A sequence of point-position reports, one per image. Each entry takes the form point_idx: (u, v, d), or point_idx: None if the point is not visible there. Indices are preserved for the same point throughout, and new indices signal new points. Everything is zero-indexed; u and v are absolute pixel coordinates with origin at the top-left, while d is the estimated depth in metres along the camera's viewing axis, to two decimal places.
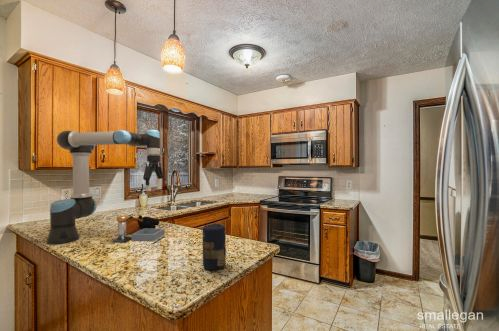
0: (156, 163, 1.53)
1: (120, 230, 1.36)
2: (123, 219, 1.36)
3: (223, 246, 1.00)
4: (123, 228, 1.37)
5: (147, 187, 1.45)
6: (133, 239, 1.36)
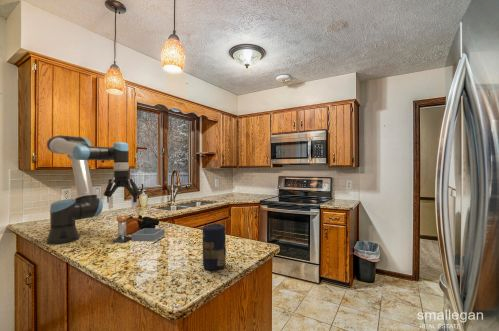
0: (122, 179, 1.37)
1: (120, 230, 1.36)
2: (123, 219, 1.36)
3: (223, 246, 1.00)
4: (123, 228, 1.37)
5: None
6: (133, 239, 1.36)
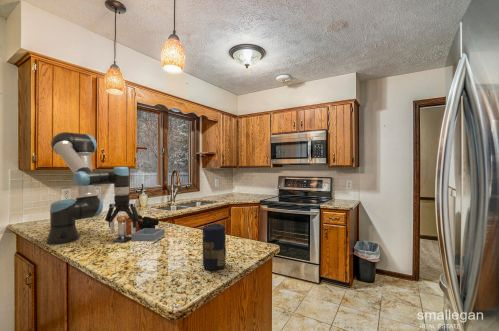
0: (123, 203, 1.37)
1: (120, 230, 1.36)
2: (123, 219, 1.36)
3: (223, 246, 1.00)
4: (123, 228, 1.37)
5: None
6: (133, 239, 1.36)
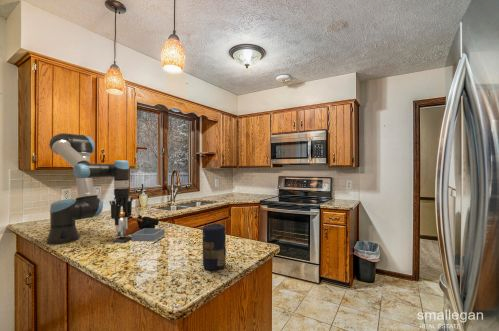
0: (125, 195, 1.40)
1: (121, 225, 1.37)
2: (123, 214, 1.38)
3: (223, 246, 1.00)
4: (123, 223, 1.38)
5: (117, 227, 1.36)
6: (133, 239, 1.36)
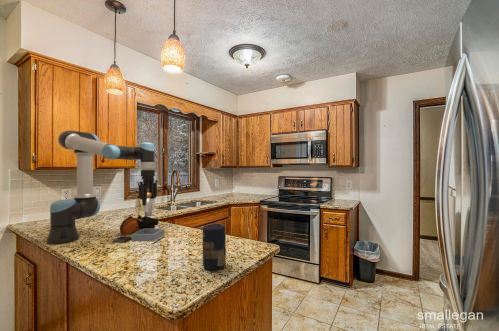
0: (151, 176, 1.44)
1: (148, 205, 1.41)
2: (150, 194, 1.42)
3: (223, 246, 1.00)
4: (150, 203, 1.42)
5: (144, 207, 1.40)
6: (133, 239, 1.36)
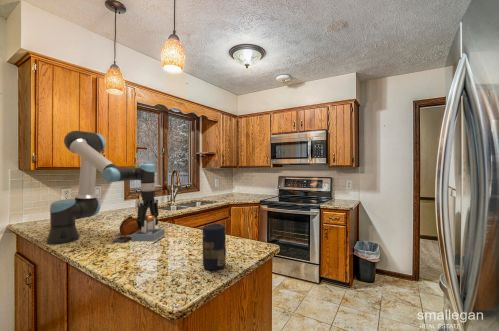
0: (151, 198, 1.44)
1: (150, 228, 1.41)
2: (153, 218, 1.41)
3: (223, 246, 1.00)
4: (152, 227, 1.42)
5: (142, 228, 1.39)
6: (133, 239, 1.36)
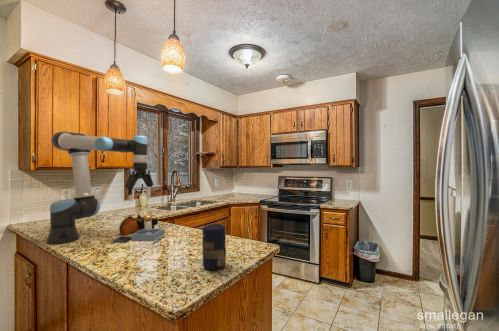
0: (143, 171, 1.45)
1: (149, 228, 1.41)
2: (151, 217, 1.42)
3: (223, 246, 1.00)
4: (151, 226, 1.42)
5: (130, 196, 1.37)
6: (133, 239, 1.36)
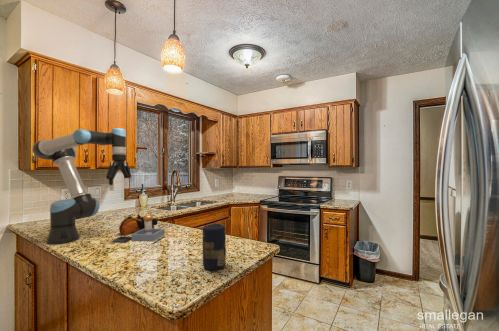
0: (122, 162, 1.50)
1: (149, 228, 1.41)
2: (151, 217, 1.42)
3: (223, 246, 1.00)
4: (151, 226, 1.42)
5: (111, 187, 1.42)
6: (133, 239, 1.36)
